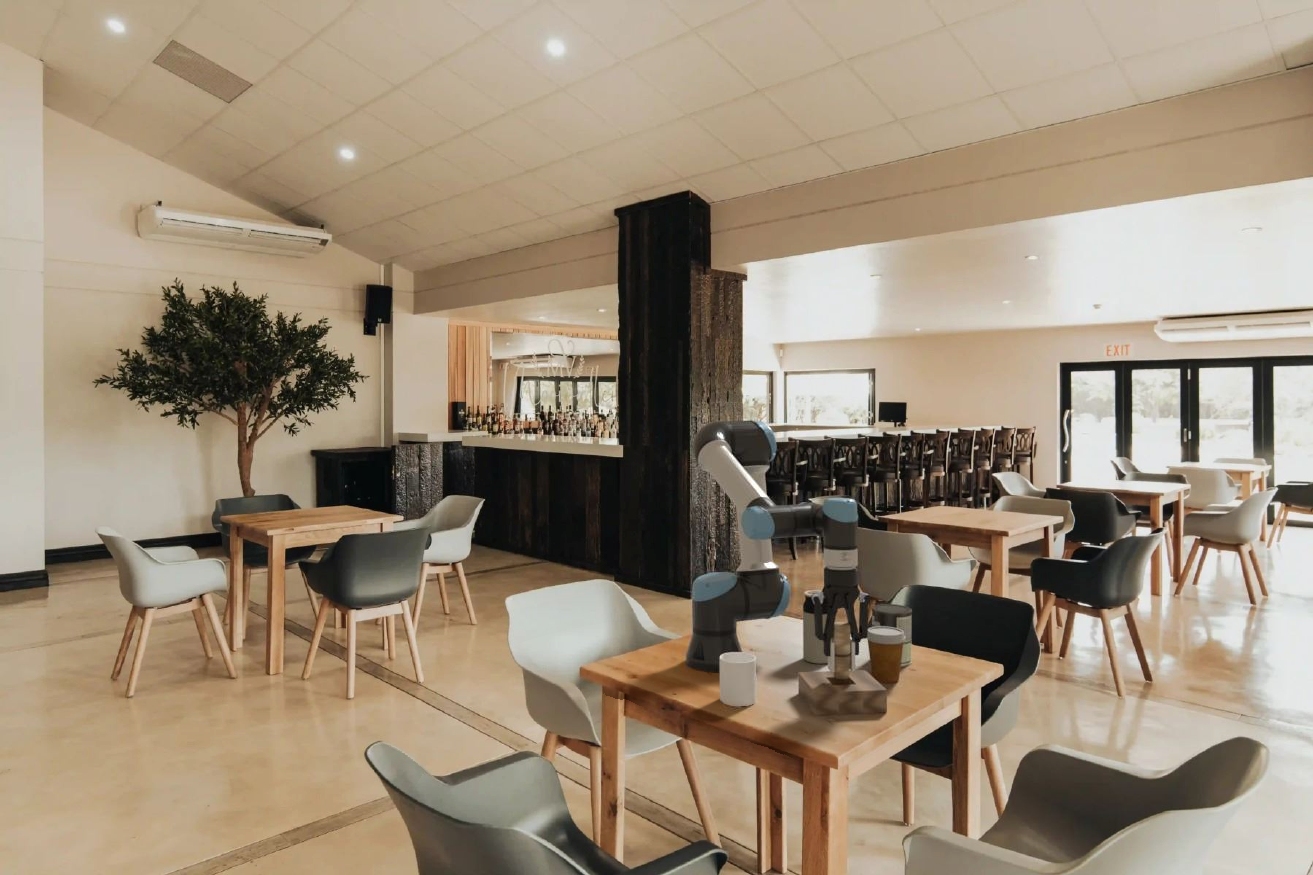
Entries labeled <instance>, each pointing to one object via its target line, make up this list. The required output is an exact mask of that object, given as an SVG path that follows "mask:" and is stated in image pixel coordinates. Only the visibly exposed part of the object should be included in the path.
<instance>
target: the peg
mask: <svg viewBox="0 0 1313 875" xmlns="http://www.w3.org/2000/svg"><path fill="white" fill-rule="evenodd" d="M850 639H851V634H850V624H849V623H848V622H845V621H835V623H834V628H833V633H832V641H833V642H834V653H835V672H834V677H835V678H837V679H848V678H849V671H850V669H849V665H850V664H851V652H850Z"/></svg>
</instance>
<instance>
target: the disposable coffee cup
mask: <svg viewBox="0 0 1313 875" xmlns="http://www.w3.org/2000/svg"><path fill="white" fill-rule="evenodd" d="M905 638H906V637H905V636H904V632H903V630H901V629H898V628H894V627H886V626H877V627H872V626H871V627H868V636H867V638H866V639H867V646H868V654H869V655H868V656H869V661H870V667H871V676H872V677H873V678H874V679H875V680H876V681H878V682H879V683H884V684H885V683H886V684H893V683H897V682H899V680H900V672H901V667H900V666H901V658H902V650H903V643H904V640H905Z"/></svg>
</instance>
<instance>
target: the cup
mask: <svg viewBox="0 0 1313 875" xmlns="http://www.w3.org/2000/svg"><path fill="white" fill-rule="evenodd" d="M719 700H720V702H721V701H722V702H723V703H724V704H723V703H722V702H721V703H722V704H723V705H725V704H728V705H732V706H747V707H749V706H748V705H751V706H752V704H753V705H754V704H755V703H756V700H757V657H756V656H755V655H754V654H752V653H749V652H743V651H742V652H730V653H725V654H722V655H721V656H720V672H719Z"/></svg>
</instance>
